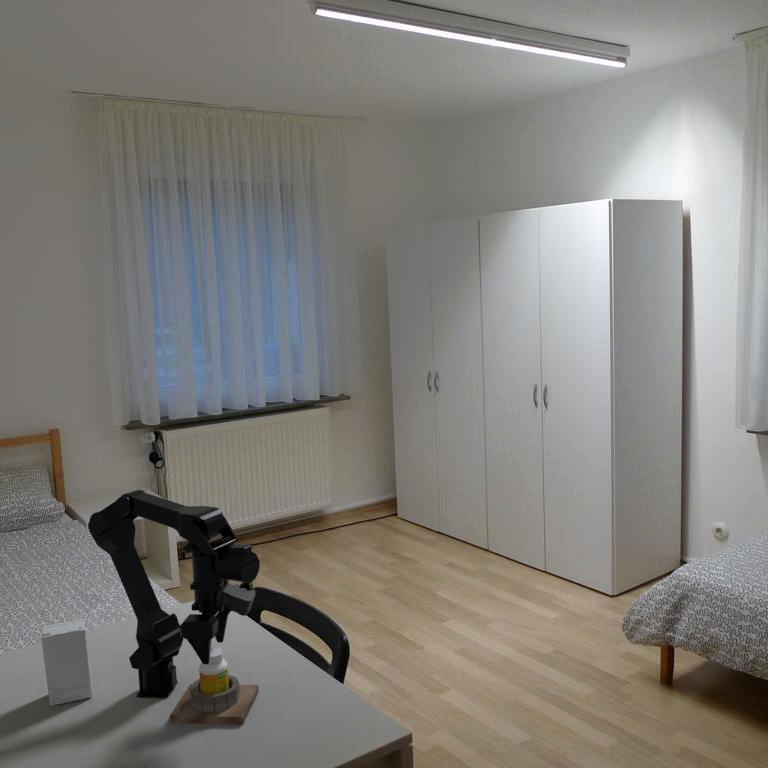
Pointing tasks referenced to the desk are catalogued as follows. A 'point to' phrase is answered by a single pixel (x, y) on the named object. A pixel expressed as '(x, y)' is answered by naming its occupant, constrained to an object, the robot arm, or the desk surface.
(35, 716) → the desk surface
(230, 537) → the robot arm
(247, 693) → the collar board
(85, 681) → the skincare box
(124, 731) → the desk surface
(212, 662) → the supplement bottle
